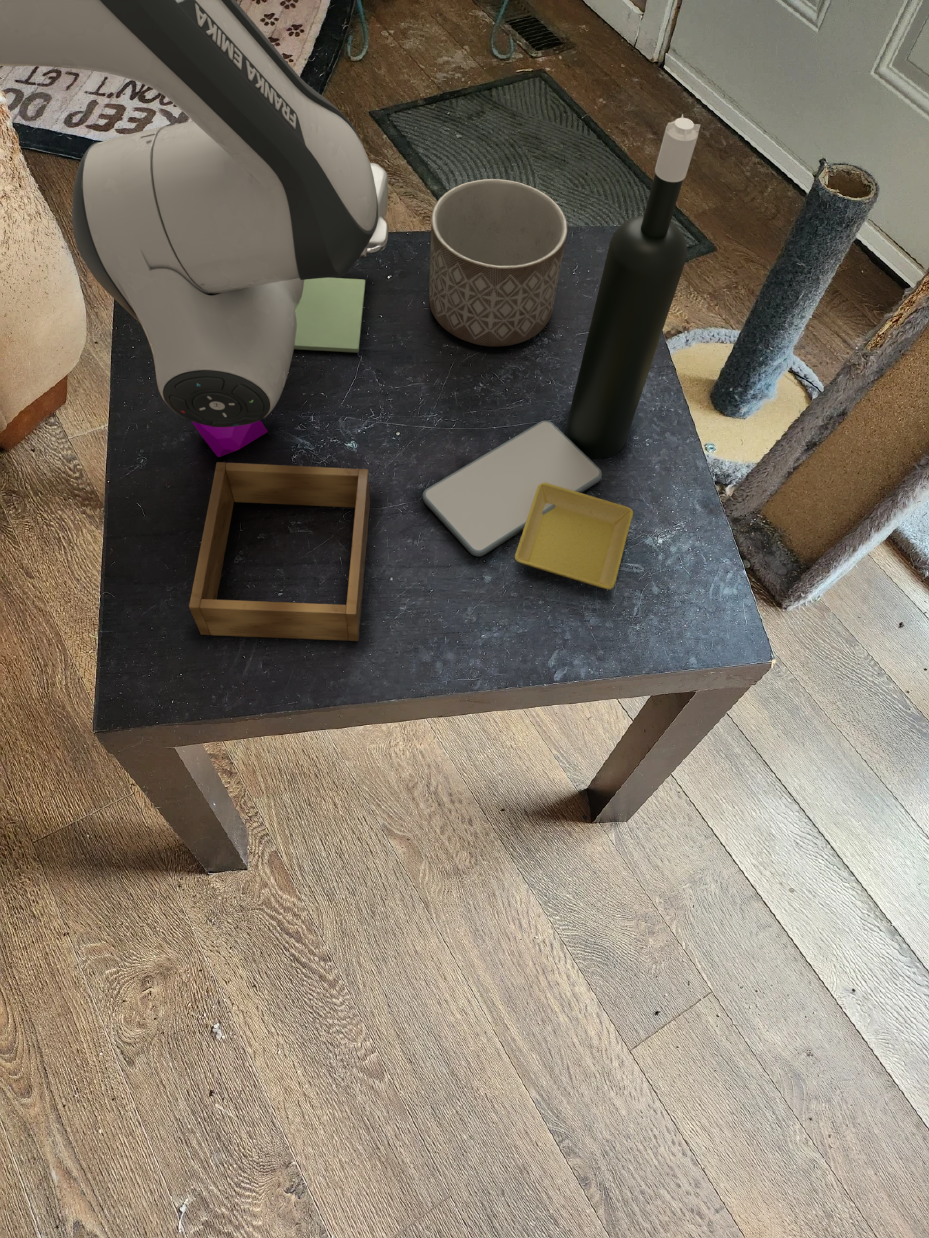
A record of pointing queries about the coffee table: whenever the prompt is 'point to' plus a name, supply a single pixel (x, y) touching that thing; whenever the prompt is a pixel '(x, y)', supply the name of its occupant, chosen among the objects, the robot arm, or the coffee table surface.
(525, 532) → the yellow square tray
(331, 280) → the mat
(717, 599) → the coffee table surface
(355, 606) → the wooden frame
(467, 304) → the planter
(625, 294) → the wine bottle
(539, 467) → the smartphone
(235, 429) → the crystal
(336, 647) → the coffee table surface
